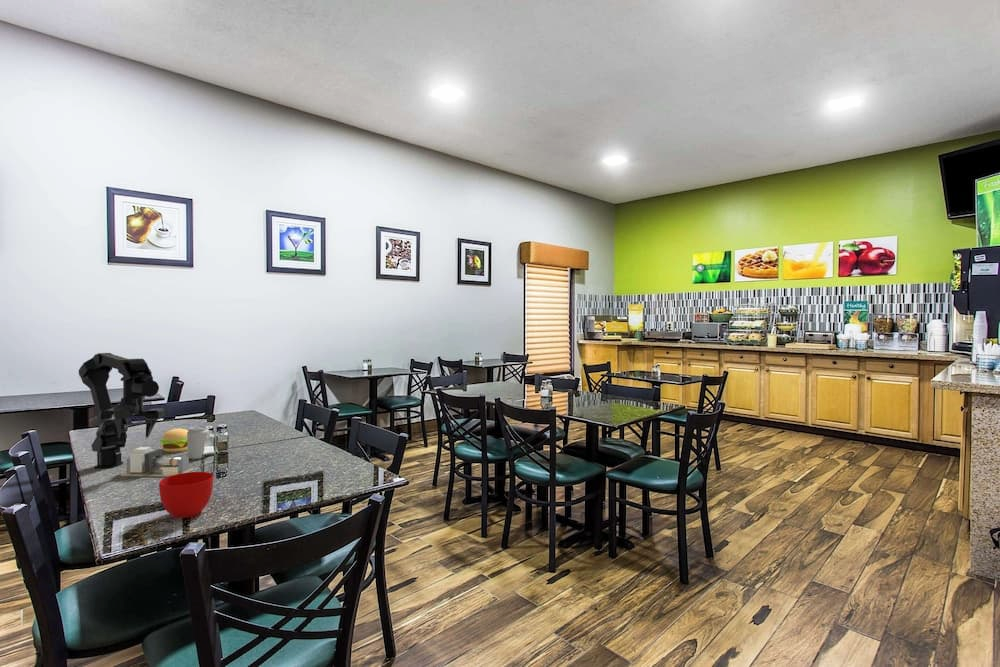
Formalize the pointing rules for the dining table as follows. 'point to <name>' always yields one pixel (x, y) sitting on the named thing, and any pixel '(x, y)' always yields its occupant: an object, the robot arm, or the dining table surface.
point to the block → (149, 460)
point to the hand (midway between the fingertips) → (133, 437)
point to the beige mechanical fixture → (163, 471)
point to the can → (196, 441)
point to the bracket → (138, 459)
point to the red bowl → (186, 493)
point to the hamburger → (174, 440)
